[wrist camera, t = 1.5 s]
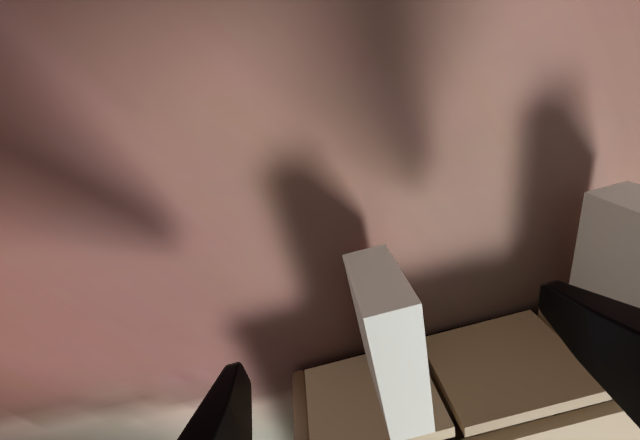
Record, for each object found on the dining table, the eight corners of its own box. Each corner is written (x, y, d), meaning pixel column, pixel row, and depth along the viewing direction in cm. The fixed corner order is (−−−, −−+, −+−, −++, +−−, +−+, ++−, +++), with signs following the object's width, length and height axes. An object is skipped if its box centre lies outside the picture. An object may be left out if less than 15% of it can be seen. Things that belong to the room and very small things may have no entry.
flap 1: (294, 382, 14) (298, 477, 11) (248, 269, 11) (232, 352, 8) (414, 351, 14) (455, 437, 11) (398, 231, 11) (447, 296, 8)
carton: (340, 474, 19) (355, 580, 15) (298, 365, 14) (303, 476, 10) (606, 405, 19) (693, 493, 15) (646, 275, 14) (785, 351, 10)
